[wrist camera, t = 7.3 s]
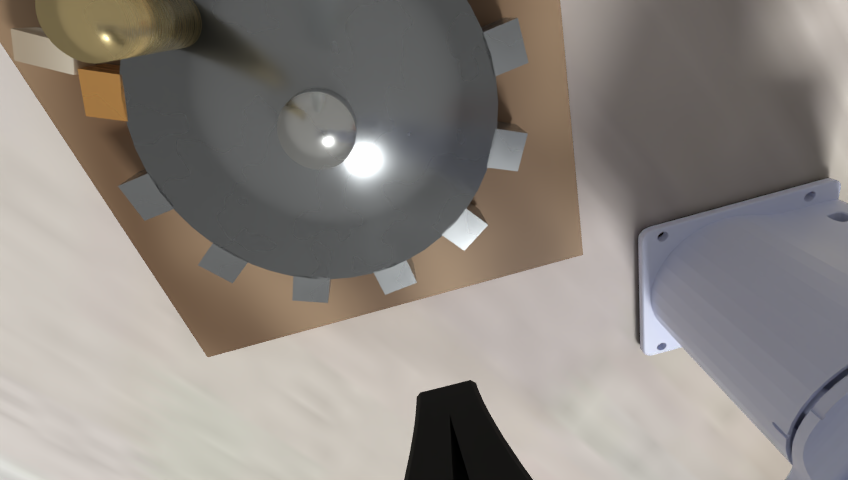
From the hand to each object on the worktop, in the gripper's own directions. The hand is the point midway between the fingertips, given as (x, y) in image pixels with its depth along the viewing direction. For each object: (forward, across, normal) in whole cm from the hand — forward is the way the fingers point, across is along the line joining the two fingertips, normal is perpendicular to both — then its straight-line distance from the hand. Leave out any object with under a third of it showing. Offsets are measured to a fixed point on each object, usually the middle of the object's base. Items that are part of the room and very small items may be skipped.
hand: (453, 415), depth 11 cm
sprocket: (+9, +2, -6) cm, 11 cm away
